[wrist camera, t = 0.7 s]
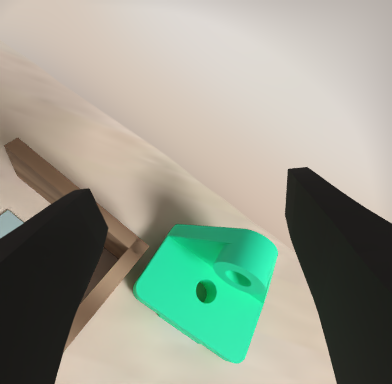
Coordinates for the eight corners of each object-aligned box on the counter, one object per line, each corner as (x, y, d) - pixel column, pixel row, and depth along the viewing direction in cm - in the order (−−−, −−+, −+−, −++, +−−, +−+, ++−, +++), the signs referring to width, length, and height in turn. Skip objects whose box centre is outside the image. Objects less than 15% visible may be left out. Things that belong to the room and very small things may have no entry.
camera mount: (126, 294, 24) (151, 280, 16) (168, 231, 28) (206, 193, 20) (227, 364, 25) (303, 387, 16) (254, 292, 29) (326, 282, 21)
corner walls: (8, 417, 18) (-16, 448, 14) (-153, 290, 18) (-230, 281, 13) (138, 258, 26) (149, 246, 21) (28, 168, 25) (17, 137, 21)
